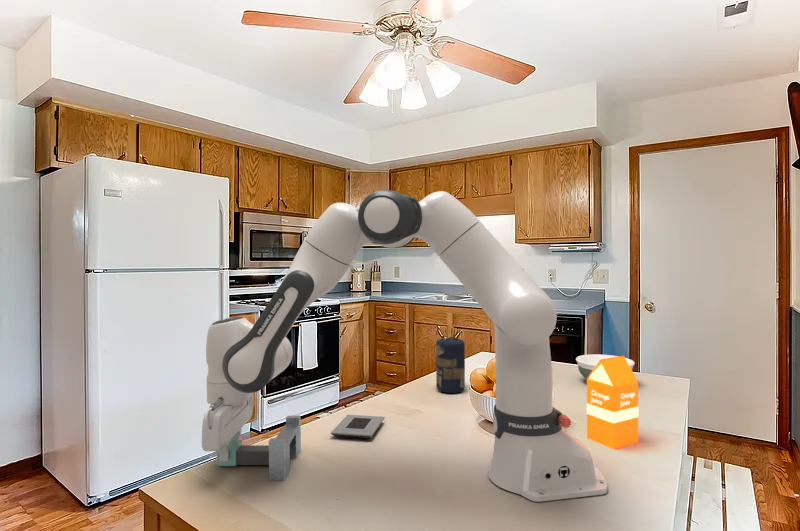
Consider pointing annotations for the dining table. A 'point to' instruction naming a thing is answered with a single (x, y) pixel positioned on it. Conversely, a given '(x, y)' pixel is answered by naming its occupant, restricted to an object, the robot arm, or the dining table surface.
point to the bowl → (594, 363)
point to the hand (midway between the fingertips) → (229, 454)
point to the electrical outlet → (358, 426)
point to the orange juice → (612, 403)
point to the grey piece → (284, 448)
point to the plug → (245, 454)
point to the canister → (450, 365)
